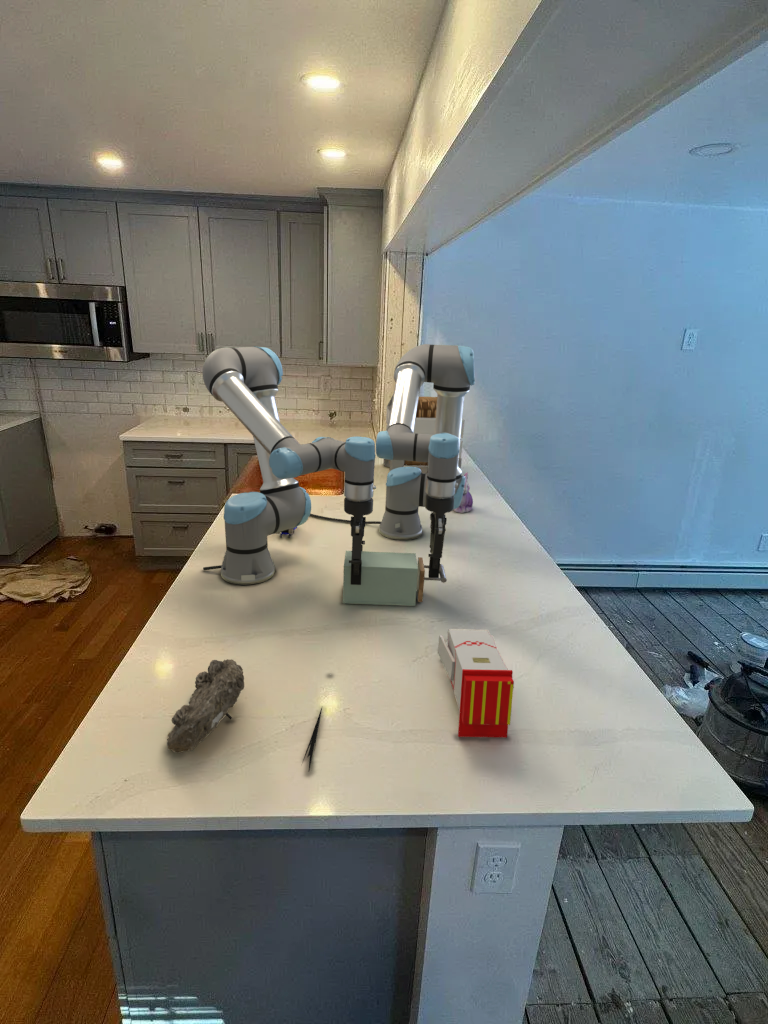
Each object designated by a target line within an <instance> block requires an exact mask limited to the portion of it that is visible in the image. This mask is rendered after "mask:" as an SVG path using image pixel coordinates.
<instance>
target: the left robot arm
mask: <svg viewBox="0 0 768 1024" xmlns="http://www.w3.org/2000/svg"><path fill="white" fill-rule="evenodd" d="M201 373H202V380H203V383H204V386H205V388H206V389H207V391H208V392H209V394H210V395H211V396H212V397H213V398H214V400H216V401H217V402H223V404H224V405H225V407H227V408H228V409H229V411H230V412H231V413H232V414H233V415H234V416H235V417H236V418H237V420H238V421H239V422H240V423H241V424H242V425H243V426H244V427H245V429H246V430H247V431H248V432H249V433H250V434H251V435H252V438H253V441H254V447H255V451H256V456H257V460H258V465H259V469H260V474H261V478H262V485H261V486H260V488H259V492H258V491H249V492H240V493H237V494H234V495H233V496H230V498H228V499H227V500H226V501H225V503H224V507H223V520H224V533H225V534H224V535H225V552H224V556H223V559H222V563H221V565H219V564H218V565H211V566H203V568H202V569H203V570H202V571H211V570H218V569H219V570H220V576H221V579H222V580H224V581H225V582H227V583H230V584H233V585H240V586H241V585H242V586H247V585H256V584H261V583H263V582H264V583H265V582H266V581H268V580H270V579H271V578H273V576H274V575H275V571H276V570H275V569H276V567H275V564H274V561H273V557H272V556H271V553H270V550H269V548H268V547H269V545H268V537H269V536H271V535H274V534H275V533H278V532H280V533H281V531H284V530H287V529H292V528H296V527H297V528H298V527H299V526H301V525H304V524H305V523H306V522H307V521H308V520H309V517H311V516H310V514H312V500H311V497H310V495H309V492H307V490H306V489H305V488H304V487H301V486H300V484H299V480H297V479H295V478H298V477H301V476H304V475H309V474H312V473H313V474H314V473H318V472H322V471H327V470H332V469H333V470H336V471H340V472H342V473H344V483H343V496H344V498H343V511H344V512H345V513H346V515H350V520H351V521H350V523H349V525H350V537H351V539H352V540H351V551H352V560H349V563H351V585H361V569H362V560H361V552H362V551H364V550H363V548H364V547H363V546H364V545H366V540H363V539H364V537H365V528H366V524H365V523H366V521H367V519H366V516H369V515H370V514H373V511H374V499H373V497H374V490H376V489H377V486H376V485H374V482H375V466H376V465H375V463H376V457H377V455H376V442H375V441H374V439H372V438H371V437H367V436H357V435H356V436H350V437H347V438H345V439H346V440H345V441H342V440H339V439H335V438H333V437H330V436H327V437H326V436H318V437H316V438H315V439H314V440H312V441H311V442H307V443H302V444H301V443H300V442H299V441H298V440H297V439H296V438H295V437H294V435H292V434H291V433H290V431H289V430H288V429H287V428H286V427H285V426H284V425H283V424H282V423H281V419H280V415H279V411H278V406H277V401H276V395H278V392H279V385H280V384H281V383H282V380H283V376H284V371H283V365H282V363H281V360H280V358H279V356H278V355H277V354H276V352H274V351H273V350H272V349H271V348H268V347H266V346H265V347H264V346H256V345H255V346H240V347H239V346H238V347H229V346H226V347H220V348H217V349H215V350H213V351H212V352H211V353H210V354H209V355H208V356H207V357H206V358H205V360H204V362H203V365H202V371H201ZM297 528H296V529H297Z"/></svg>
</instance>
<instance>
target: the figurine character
mask: <svg viewBox="0 0 768 1024" xmlns="http://www.w3.org/2000/svg"><path fill="white" fill-rule="evenodd" d="M297 529H298V526H297V527H296V528H292V529H287V530H284V531H281V532H278V533H275V534H276V535H279V538H280V539H282V538H283V535H284V536H287V539H291V537H292V535H293V534H294V533H295V530H297Z"/></svg>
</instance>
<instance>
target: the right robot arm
mask: <svg viewBox="0 0 768 1024" xmlns="http://www.w3.org/2000/svg"><path fill="white" fill-rule="evenodd" d="M474 352H475V351H474V349H473V348H472V347H470V346H464V345H455V344H454V345H453V344H430V343H423V344H419V345H417V346H413V347H412V348H411V349H409V350H408V351H406V352H405V353H404V354H403V355H402V356H401V358H399V360H398V361H397V364H396V365H395V368H394V371H393V381H394V383H395V384H394V389H393V394H392V396H393V399H392V404H391V410H390V415H389V420H388V425H387V424H386V426H387V431H386V430H381V431H379V432H377V435H376V438H375V439H376V440H375V455H376V457H377V458H378V459H383V460H384V459H389V460H403V461H416V462H428V466H427V472H422V469H421V468H420V467H419V466H418V467H417V466H404V467H400V468H396V469H393V470H391V471H390V470H389V471H388V473H387V475H386V482H385V487H386V488H385V504H384V505H385V507H384V508H385V509H384V513H383V515H382V519H381V521H379V520H378V521H377V520H376V521H374V520H373V521H372V520H371V521H368V520H366V523H365V525H378V533H379V534H380V535H381V536H382V537H385V538H387V539H389V540H395V541H410V540H415V539H418V538H420V537H421V536H422V535H423V525H422V524H421V518H420V515H419V508H420V507H421V508H422V507H423V508H425V509H426V511H428V512H430V515H429V519H430V520H429V521H430V524H429V525H430V527H429V528H430V535H429V536H430V537H429V545H428V546H429V553H428V554H427V555H428V558H429V562H428V565H429V568H428V577H429V578H440V574H439V569H440V564H441V559H442V558H443V550H444V541H445V534H446V531H447V528H446V525H447V517H446V514H448V513H451V512H452V511H454V510H453V509H456V508H458V507H459V506H460V503H461V500H462V496H463V491H464V485H465V476H464V474H462V473H463V471H462V468H461V469H460V468H459V467H458V459H459V450H460V449H459V448H460V439H461V438H460V437H461V426H462V419H463V414H464V403H465V396H466V395H467V394H468V393H469V392H470V388H471V386H474V385H475V384H476V375H475V373H476V372H475V353H474ZM425 383H431V384H433V385H432V386H433V387H432V390H434V391H435V393H436V397H437V408H436V422H435V435H430V434H416V433H414V426H415V419H416V412H417V405H418V398H419V397H420V391H421V387H422V386H423V385H424V384H425ZM309 517H312V518H317V519H322V520H326V521H331V522H341V523H347V524H350V521H351V519H344V518H343V519H342V518H335V517H330V516H329V517H328V516H322V515H318V514H314V513H310V516H309Z"/></svg>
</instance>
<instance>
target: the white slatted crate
mask: <svg viewBox="0 0 768 1024" xmlns="http://www.w3.org/2000/svg"><path fill="white" fill-rule="evenodd" d="M392 399H393V395H391V398H390V400H389V402H388V404H387V405H386V413H385V414H386V415H385V423H386V428H385V431H387V425H388V420H389V415H390V410H391V404H392ZM436 408H437V396H419V398H418V405H417V412H416V419H415V426H414V433H416V434H430V435H435V422H436ZM464 429H465V419H464V418H462V426H461V437H460V448H459V449H460V450H459V459H458V467H459V468H460V469H461V470H462V461H463V460H462V453H463V442H464V441H463V440H462V439H463V438H464V431H465V430H464ZM383 466H384V467H388V468H389V472H390V471H391V470H393V469H396V468H400V467H405V466H406V467H417V466H418V467H428V462H416V461H403V460H389V459H383Z"/></svg>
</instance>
